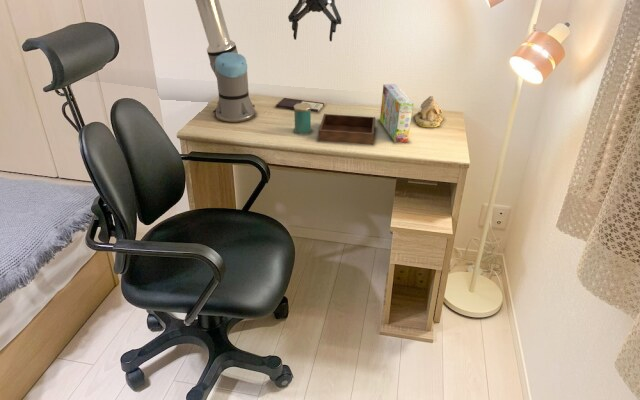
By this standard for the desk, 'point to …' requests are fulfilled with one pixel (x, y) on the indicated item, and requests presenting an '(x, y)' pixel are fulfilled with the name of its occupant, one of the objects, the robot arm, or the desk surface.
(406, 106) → the snack box
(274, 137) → the desk surface
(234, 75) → the robot arm
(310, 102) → the chocolate bar
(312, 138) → the desk surface
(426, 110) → the ceramic model
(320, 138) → the dark wooden tray
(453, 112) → the desk surface
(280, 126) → the desk surface
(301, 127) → the tin
